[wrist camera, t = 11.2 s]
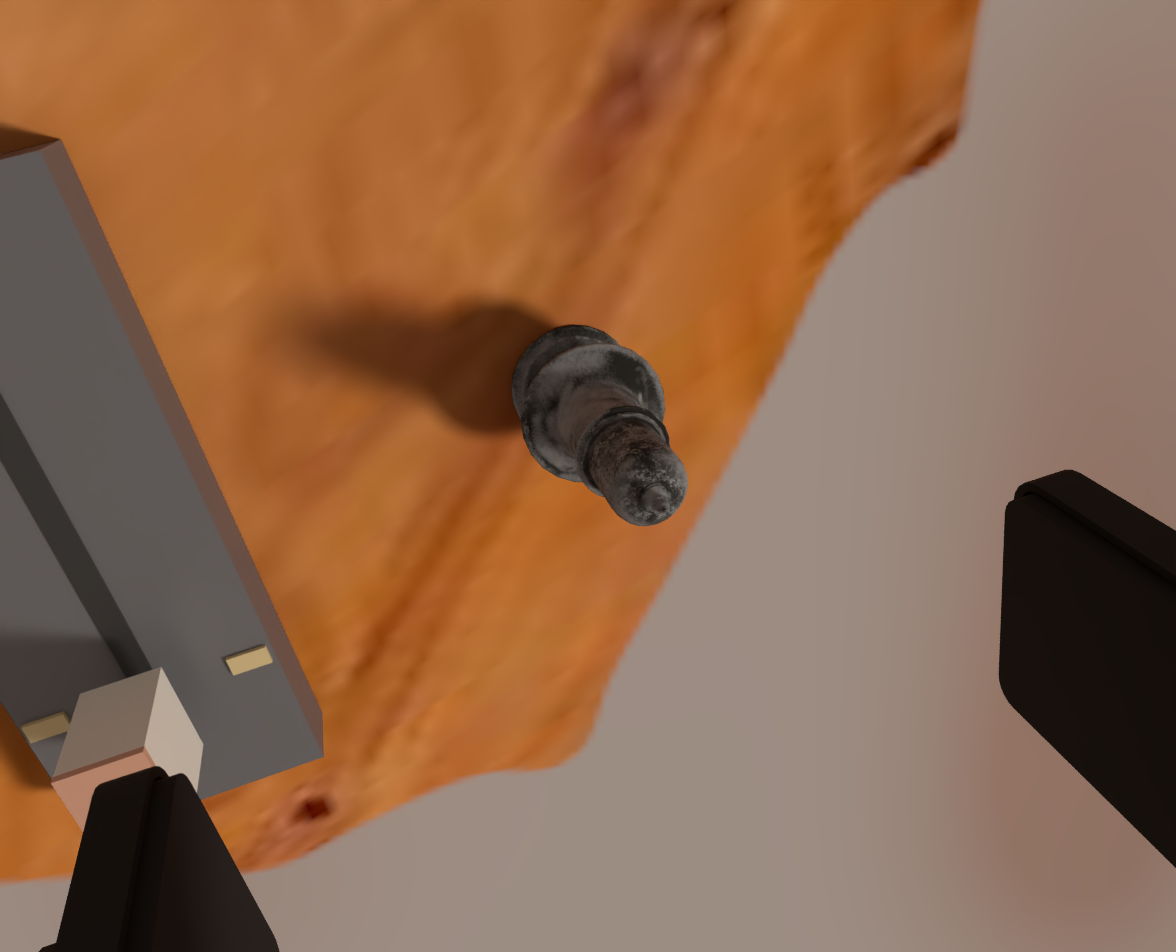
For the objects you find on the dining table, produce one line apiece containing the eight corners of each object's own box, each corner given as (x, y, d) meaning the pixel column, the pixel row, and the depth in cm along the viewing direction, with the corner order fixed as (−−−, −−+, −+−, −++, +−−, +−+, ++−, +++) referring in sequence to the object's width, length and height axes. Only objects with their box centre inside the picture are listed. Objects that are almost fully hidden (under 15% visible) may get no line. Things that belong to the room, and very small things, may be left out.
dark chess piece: (505, 454, 41) (574, 601, 31) (502, 322, 39) (577, 432, 28) (635, 442, 43) (743, 579, 32) (640, 314, 40) (759, 417, 30)
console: (-256, 219, 31) (-312, 238, 28) (60, 139, 32) (38, 150, 29) (103, 788, 43) (90, 841, 40) (322, 713, 44) (323, 759, 42)
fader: (87, 669, 37) (50, 783, 31) (166, 644, 37) (143, 751, 32) (132, 745, 39) (105, 865, 33) (206, 720, 39) (191, 834, 34)
